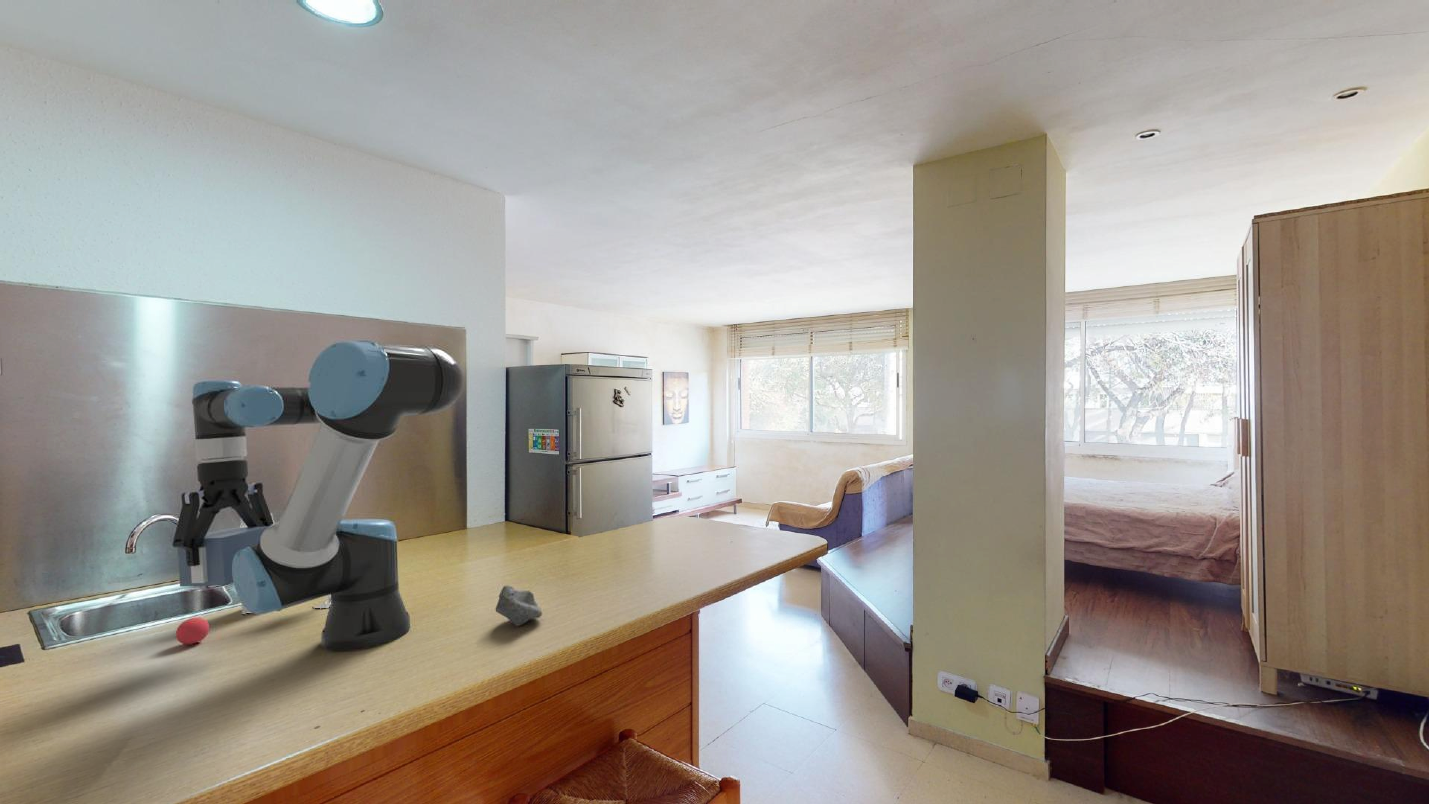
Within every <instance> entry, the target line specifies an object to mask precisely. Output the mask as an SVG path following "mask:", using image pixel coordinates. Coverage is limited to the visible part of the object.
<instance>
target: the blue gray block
mask: <svg viewBox="0 0 1429 804" xmlns="http://www.w3.org/2000/svg"><path fill="white" fill-rule="evenodd" d="M268 527H269V526H265V527H244V528H240V527H230V528H226V529H220V530H215V531H212V532H211V531H210V532H207V534H206V536H205V538H204V540H203V542H202V544H201V546H200V547H206V560H207V576H208V582H205V583H192V578H191V566H188V565H187V560H186V559H187V558H186V550H185V549H182V548H179V547H177V558H178V573H179V575H178V576H179V586H180V587H210V586H211V587H212V586H215V587H216V586H217V587H218V586H227V585H230V584H234V581H233V576H232V562H233V558H234V556H235V554H236V553H237V552H238V551H239V550H242V549H245V548H246V547H255V546H257V545H258V542H259V540H260V538H261V536H262V533H263V532H264V531H265V529H266V528H268Z"/></svg>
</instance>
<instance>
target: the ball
mask: <svg viewBox="0 0 1429 804" xmlns="http://www.w3.org/2000/svg"><path fill="white" fill-rule="evenodd" d="M209 632H210V625H209V622H208V621H207V620H206V619H205V618H203V617H191V618H188V619H185V620H184V621H183V622H181V623H180V624H179V625H178V626H177V628H176V630H175V638H176V640H177V641H178V642H179V643H181V644H182V645H187V644H190V645H194V644H193V643H195V644H197V643H196V642H198V641H200V642H201V641H203V640H204V639H206V637H207V636H208V634H209ZM198 643H199V642H198Z"/></svg>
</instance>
